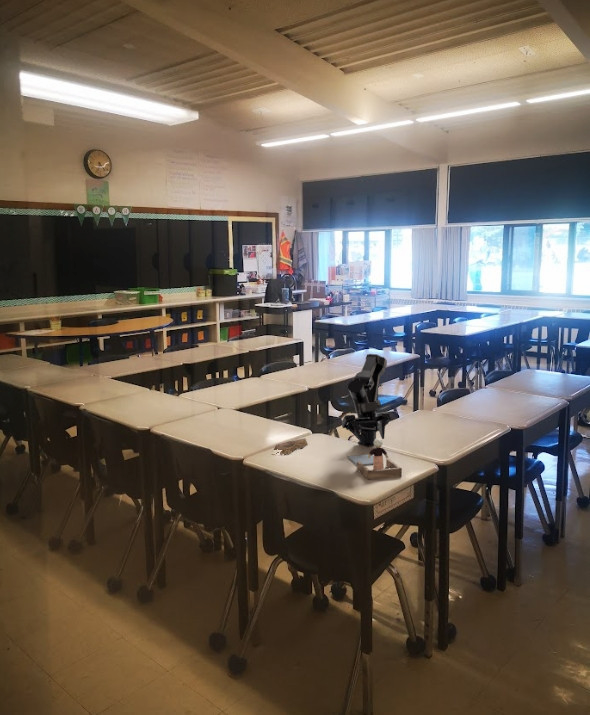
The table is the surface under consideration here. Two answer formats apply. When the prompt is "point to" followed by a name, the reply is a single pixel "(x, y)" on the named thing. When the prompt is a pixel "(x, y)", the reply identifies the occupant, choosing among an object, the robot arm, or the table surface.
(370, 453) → the grandmother figurine
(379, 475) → the walnut stall
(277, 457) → the table surface
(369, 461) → the slate mat
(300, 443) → the wooden fragment
